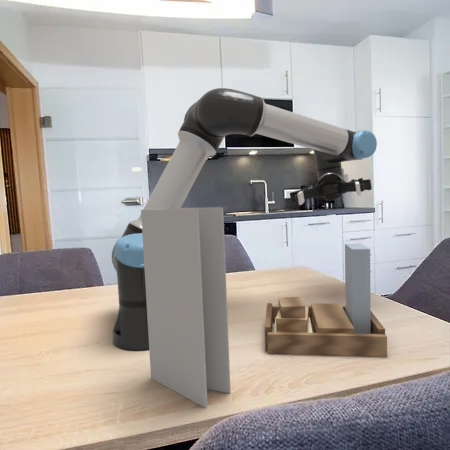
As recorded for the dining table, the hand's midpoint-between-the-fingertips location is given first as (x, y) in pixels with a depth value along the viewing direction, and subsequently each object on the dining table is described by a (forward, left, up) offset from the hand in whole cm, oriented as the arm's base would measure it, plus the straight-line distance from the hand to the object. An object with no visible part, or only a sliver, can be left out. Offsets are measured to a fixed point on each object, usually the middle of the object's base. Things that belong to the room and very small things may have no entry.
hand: (328, 194), depth 85 cm
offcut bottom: (-9, -9, -32) cm, 34 cm away
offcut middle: (-9, -9, -29) cm, 31 cm away
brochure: (-28, -31, -31) cm, 52 cm away
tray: (-4, -9, -31) cm, 33 cm away
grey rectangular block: (+4, -9, -31) cm, 33 cm away
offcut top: (-10, -10, -26) cm, 29 cm away
